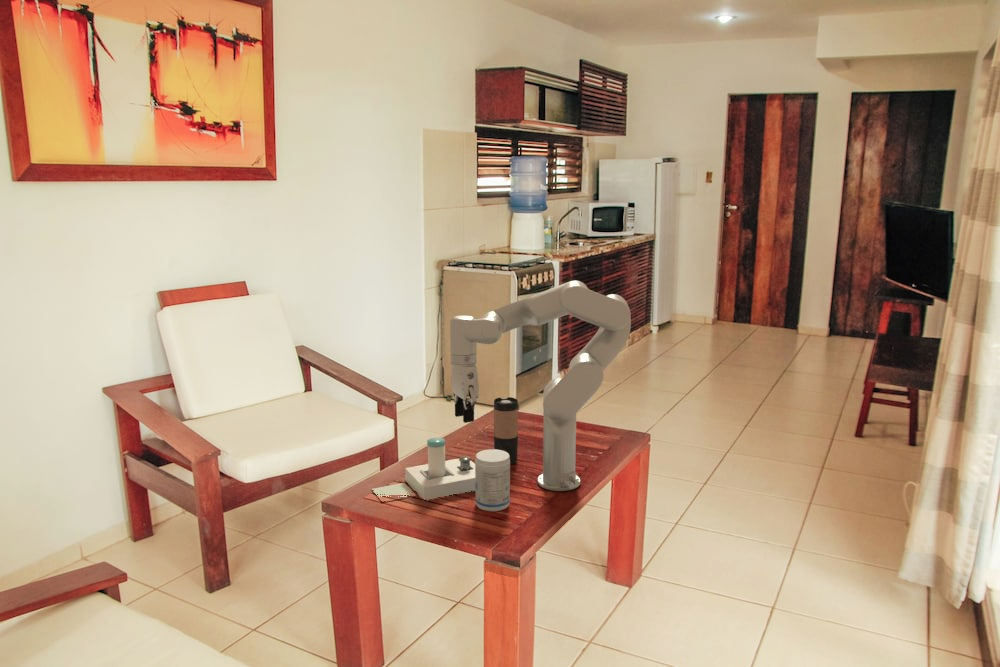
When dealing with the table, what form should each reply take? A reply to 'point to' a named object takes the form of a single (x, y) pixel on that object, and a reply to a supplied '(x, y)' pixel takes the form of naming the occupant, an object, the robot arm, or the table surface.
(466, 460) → the plunger
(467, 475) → the housing
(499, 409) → the travel mug
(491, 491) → the supplement tub
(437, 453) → the cartridge
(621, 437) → the table surface
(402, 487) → the mat
